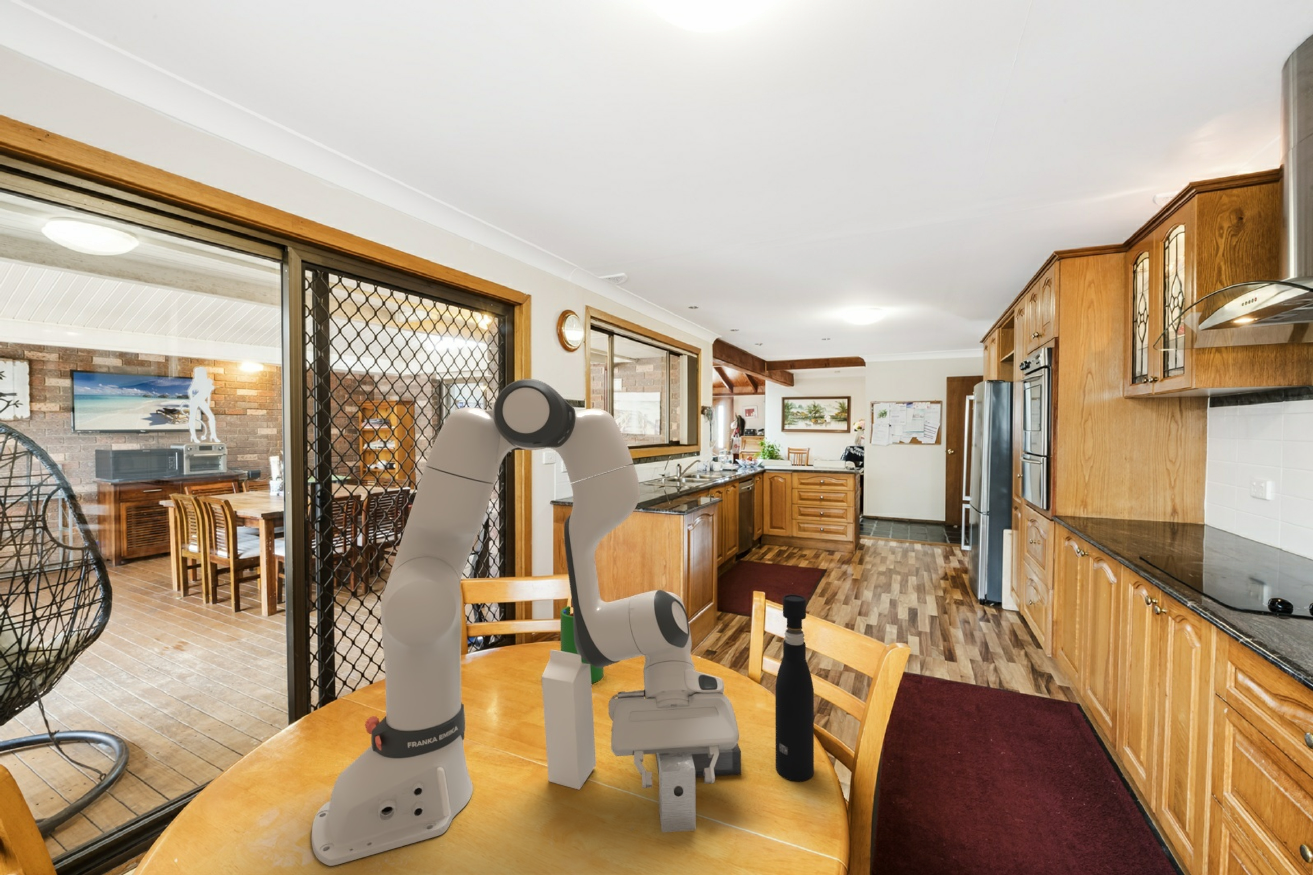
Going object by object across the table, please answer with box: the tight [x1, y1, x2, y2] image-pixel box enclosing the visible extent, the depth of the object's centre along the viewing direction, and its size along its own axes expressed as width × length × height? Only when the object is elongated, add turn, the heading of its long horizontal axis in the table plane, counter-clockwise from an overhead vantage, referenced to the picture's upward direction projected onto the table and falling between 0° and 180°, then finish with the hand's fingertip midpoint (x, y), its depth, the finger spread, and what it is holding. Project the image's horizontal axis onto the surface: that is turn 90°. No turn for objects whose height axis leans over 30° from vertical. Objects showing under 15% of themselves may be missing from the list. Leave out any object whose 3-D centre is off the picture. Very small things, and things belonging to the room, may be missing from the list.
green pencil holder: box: [560, 598, 604, 685], centre depth 129 cm, size 10×9×20 cm
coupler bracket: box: [655, 742, 742, 778], centre depth 99 cm, size 14×14×4 cm
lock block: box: [658, 754, 697, 833], centre depth 81 cm, size 4×5×9 cm
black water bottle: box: [774, 594, 815, 783], centre depth 93 cm, size 6×6×30 cm
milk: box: [541, 649, 597, 790], centre depth 91 cm, size 6×6×22 cm
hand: (678, 785), depth 81 cm, fingers open, 8 cm apart
